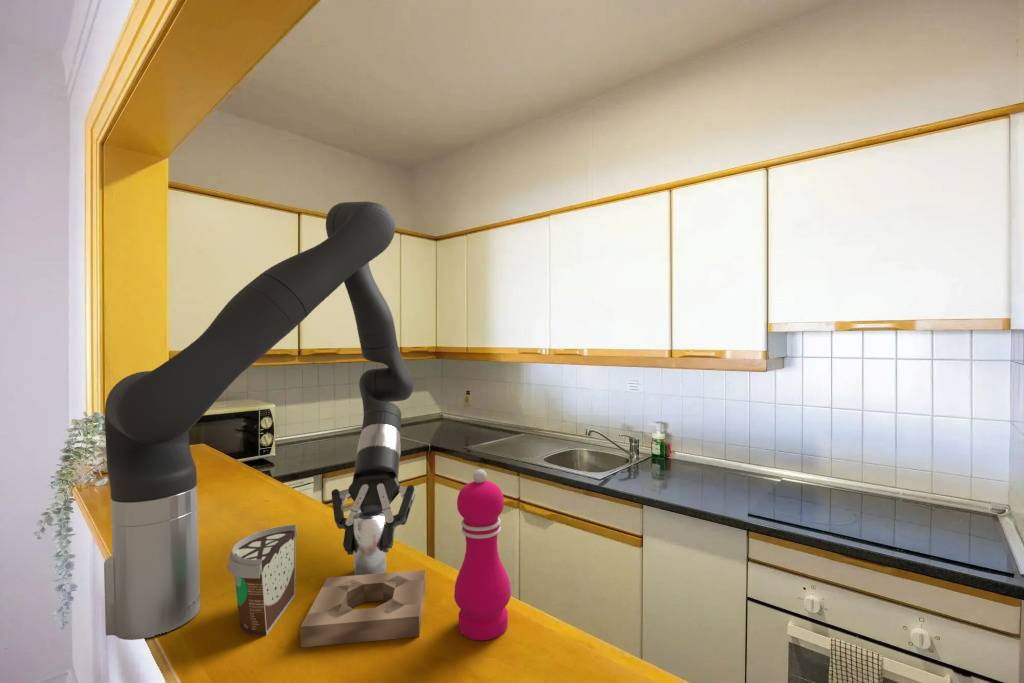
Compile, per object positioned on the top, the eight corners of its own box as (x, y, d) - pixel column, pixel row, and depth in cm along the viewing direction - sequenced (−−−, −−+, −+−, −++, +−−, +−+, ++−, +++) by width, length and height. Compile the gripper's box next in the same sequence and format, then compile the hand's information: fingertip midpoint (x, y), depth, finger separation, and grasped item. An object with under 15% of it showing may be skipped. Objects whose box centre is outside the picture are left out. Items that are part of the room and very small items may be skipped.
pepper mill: (460, 649, 56) (456, 480, 56) (450, 615, 63) (447, 465, 63) (518, 637, 58) (515, 474, 58) (503, 605, 65) (500, 460, 65)
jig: (301, 647, 57) (300, 626, 57) (327, 594, 69) (327, 577, 69) (419, 636, 59) (418, 616, 59) (425, 586, 71) (425, 569, 71)
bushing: (351, 580, 73) (350, 522, 73) (357, 566, 78) (356, 511, 78) (383, 578, 74) (382, 520, 74) (388, 564, 78) (386, 509, 78)
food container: (256, 592, 70) (254, 525, 70) (298, 590, 71) (297, 523, 71) (208, 646, 58) (206, 564, 58) (261, 643, 58) (259, 561, 58)
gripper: (333, 445, 82) (314, 545, 70) (417, 442, 84) (412, 538, 72) (341, 468, 88) (324, 564, 76) (420, 464, 89) (416, 557, 77)
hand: (367, 551), depth 74 cm, fingers closed on bushing, 4 cm apart
